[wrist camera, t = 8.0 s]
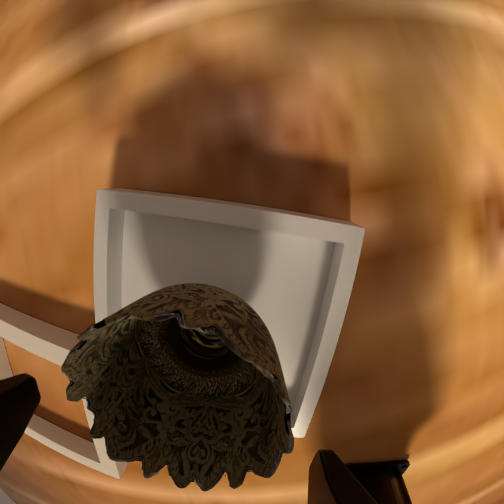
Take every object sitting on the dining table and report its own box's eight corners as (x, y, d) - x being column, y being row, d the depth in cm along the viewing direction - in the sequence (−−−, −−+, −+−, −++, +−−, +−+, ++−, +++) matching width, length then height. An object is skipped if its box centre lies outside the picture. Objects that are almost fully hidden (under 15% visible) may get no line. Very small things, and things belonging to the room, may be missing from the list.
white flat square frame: (109, 344, 17) (94, 359, 15) (127, 464, 20) (120, 479, 18) (-14, 296, 17) (-29, 303, 15) (18, 412, 20) (8, 422, 18)
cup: (133, 257, 15) (30, 318, 7) (277, 241, 14) (284, 309, 6) (164, 378, 16) (111, 478, 8) (290, 374, 16) (297, 493, 8)
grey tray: (350, 221, 14) (365, 228, 12) (301, 411, 17) (303, 438, 15) (121, 188, 15) (97, 189, 12) (120, 375, 17) (104, 396, 15)
